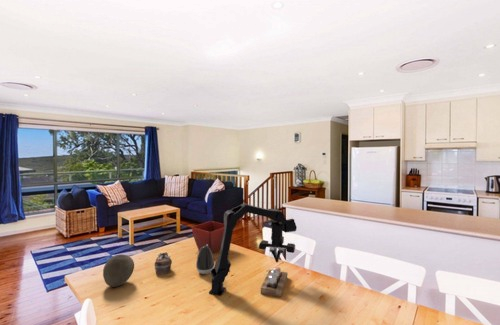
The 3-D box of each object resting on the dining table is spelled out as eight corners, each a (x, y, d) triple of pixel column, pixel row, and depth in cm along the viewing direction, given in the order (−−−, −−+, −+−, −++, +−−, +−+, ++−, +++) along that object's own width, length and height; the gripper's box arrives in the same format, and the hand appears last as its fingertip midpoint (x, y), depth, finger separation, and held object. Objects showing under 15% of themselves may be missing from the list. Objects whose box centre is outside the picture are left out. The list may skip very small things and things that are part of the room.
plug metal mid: (277, 282, 124) (277, 273, 124) (270, 281, 126) (270, 272, 125) (279, 278, 128) (279, 269, 128) (271, 277, 129) (271, 268, 129)
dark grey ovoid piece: (216, 268, 146) (216, 242, 146) (211, 276, 136) (211, 249, 135) (199, 267, 147) (199, 242, 147) (193, 276, 137) (193, 249, 136)
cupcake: (152, 270, 144) (151, 253, 144) (168, 265, 150) (168, 249, 149) (157, 276, 136) (156, 259, 136) (174, 271, 142) (174, 254, 142)
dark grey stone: (121, 293, 120) (120, 263, 120) (96, 290, 123) (95, 260, 123) (139, 278, 134) (139, 251, 134) (117, 276, 137) (116, 249, 137)
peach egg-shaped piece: (279, 279, 130) (279, 270, 129) (272, 278, 131) (272, 269, 131) (281, 275, 133) (281, 267, 133) (273, 274, 135) (273, 266, 134)
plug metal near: (275, 288, 119) (275, 278, 119) (267, 286, 120) (267, 277, 120) (277, 284, 123) (277, 274, 123) (269, 282, 124) (269, 273, 124)
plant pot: (210, 257, 161) (210, 232, 161) (191, 250, 173) (190, 226, 172) (229, 248, 177) (229, 225, 176) (211, 242, 188) (210, 220, 187)
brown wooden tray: (281, 297, 116) (281, 291, 116) (260, 293, 119) (260, 287, 119) (287, 277, 135) (287, 272, 134) (269, 275, 138) (269, 269, 137)
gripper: (296, 230, 136) (296, 258, 137) (263, 227, 142) (263, 254, 142) (293, 236, 126) (293, 267, 126) (258, 233, 131) (258, 262, 132)
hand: (277, 262), depth 132 cm, fingers closed
